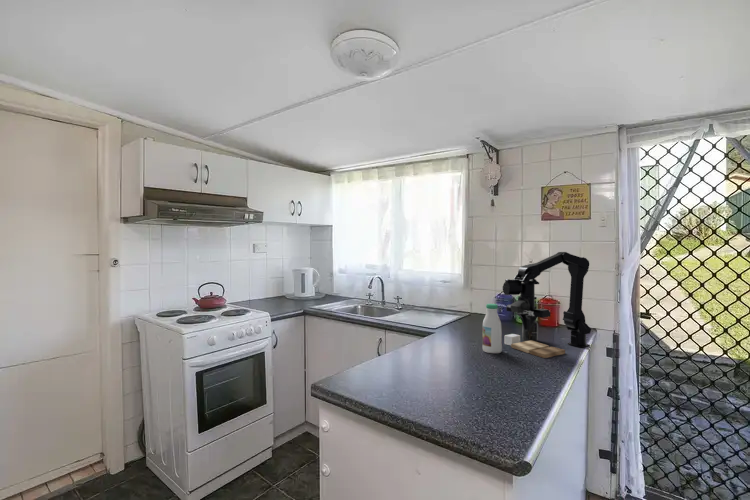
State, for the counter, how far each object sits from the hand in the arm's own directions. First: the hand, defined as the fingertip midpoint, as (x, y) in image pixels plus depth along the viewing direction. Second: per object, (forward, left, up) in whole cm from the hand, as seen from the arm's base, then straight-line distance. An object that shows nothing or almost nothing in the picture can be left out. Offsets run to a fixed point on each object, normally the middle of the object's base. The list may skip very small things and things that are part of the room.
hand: (527, 330), depth 155 cm
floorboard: (0, +10, -8) cm, 13 cm away
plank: (0, +1, -8) cm, 8 cm away
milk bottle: (+17, -4, -8) cm, 19 cm away
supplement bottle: (-12, -8, -8) cm, 16 cm away
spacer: (0, -8, -8) cm, 11 cm away
